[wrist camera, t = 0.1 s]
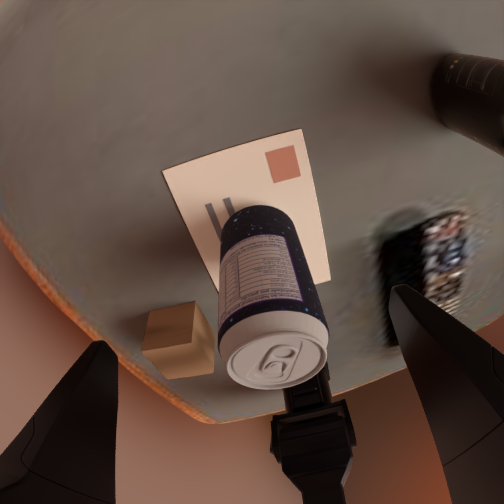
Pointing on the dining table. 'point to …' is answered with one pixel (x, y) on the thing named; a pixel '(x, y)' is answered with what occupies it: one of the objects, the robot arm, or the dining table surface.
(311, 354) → the beverage can
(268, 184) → the letter
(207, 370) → the walnut block
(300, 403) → the robot arm
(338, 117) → the dining table surface
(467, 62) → the supplement bottle
